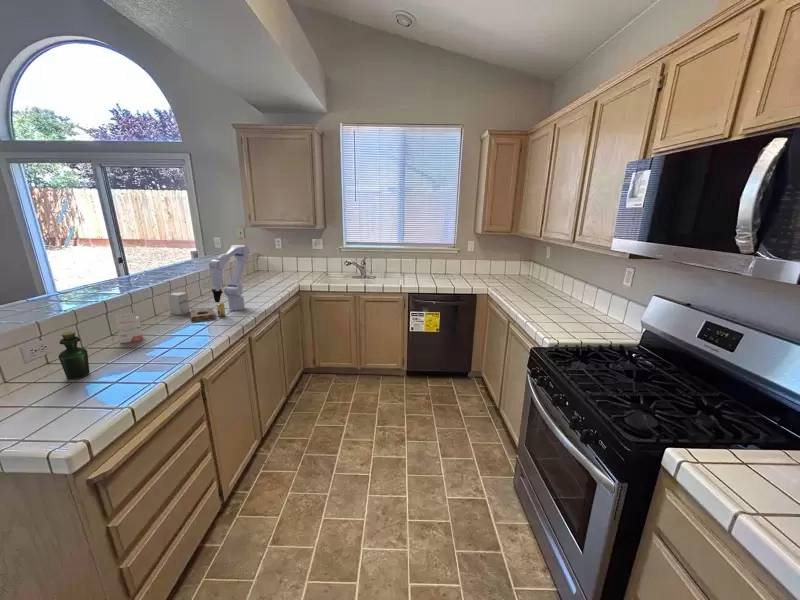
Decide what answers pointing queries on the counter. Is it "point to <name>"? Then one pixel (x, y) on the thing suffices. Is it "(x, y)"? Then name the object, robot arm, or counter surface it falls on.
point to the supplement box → (178, 303)
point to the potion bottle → (73, 357)
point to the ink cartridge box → (128, 328)
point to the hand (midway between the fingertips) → (216, 301)
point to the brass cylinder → (221, 310)
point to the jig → (202, 314)
